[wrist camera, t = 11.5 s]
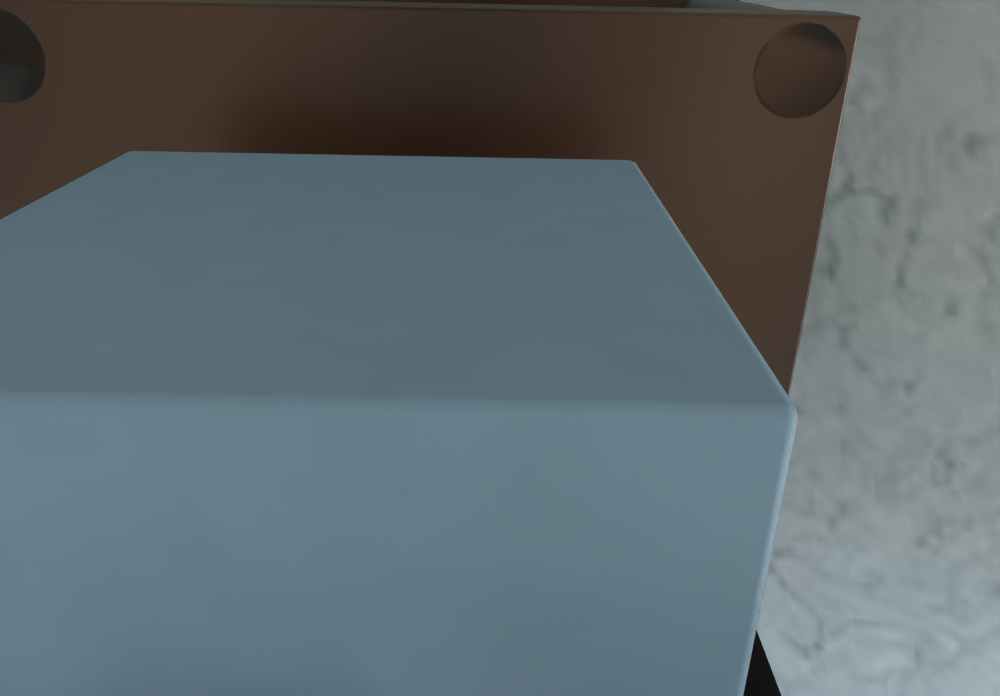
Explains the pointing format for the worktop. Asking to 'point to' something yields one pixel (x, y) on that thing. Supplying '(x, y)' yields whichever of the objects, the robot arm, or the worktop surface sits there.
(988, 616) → the worktop surface
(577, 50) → the rack
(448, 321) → the tissue box
